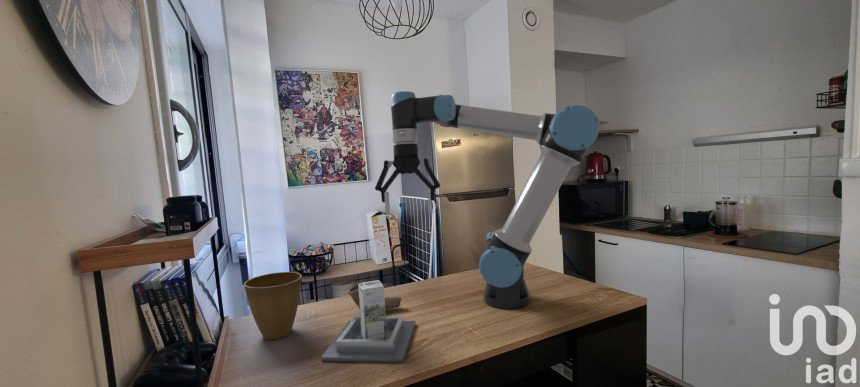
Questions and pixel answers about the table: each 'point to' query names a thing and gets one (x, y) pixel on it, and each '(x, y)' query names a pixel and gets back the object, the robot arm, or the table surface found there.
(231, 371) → the table surface
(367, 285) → the syrup box
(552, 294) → the table surface
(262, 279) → the plant pot
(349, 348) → the duct plate
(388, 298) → the pipe
